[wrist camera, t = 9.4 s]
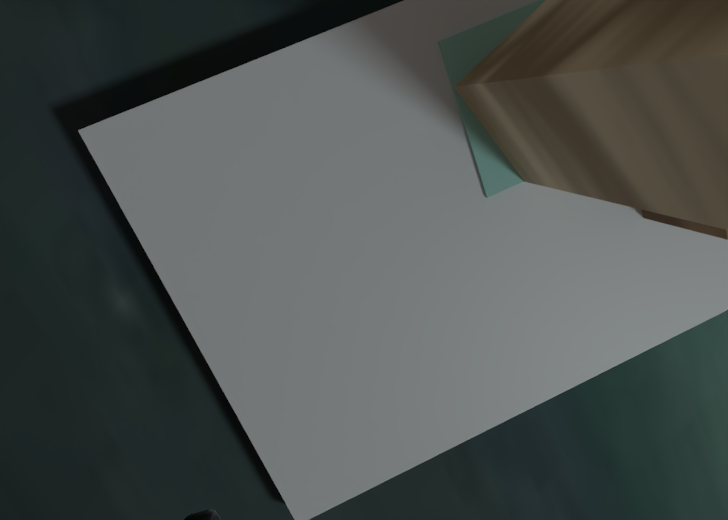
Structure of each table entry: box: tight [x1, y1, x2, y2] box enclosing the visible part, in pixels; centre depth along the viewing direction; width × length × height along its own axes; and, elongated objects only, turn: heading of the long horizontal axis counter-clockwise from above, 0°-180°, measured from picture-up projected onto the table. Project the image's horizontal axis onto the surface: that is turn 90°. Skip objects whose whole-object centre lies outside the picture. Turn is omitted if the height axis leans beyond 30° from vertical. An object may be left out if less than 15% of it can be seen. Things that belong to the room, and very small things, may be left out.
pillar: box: [454, 0, 728, 230], centre depth 13 cm, size 4×4×13 cm
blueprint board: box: [78, 0, 728, 520], centre depth 21 cm, size 22×17×1 cm
